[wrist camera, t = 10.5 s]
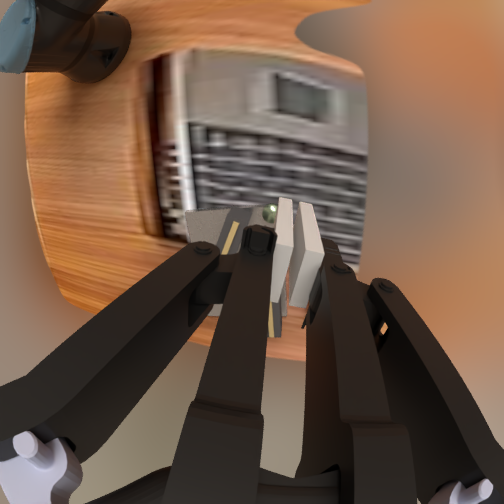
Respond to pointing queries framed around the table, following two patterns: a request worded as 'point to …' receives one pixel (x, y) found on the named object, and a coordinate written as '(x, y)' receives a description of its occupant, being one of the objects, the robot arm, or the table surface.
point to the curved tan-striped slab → (275, 319)
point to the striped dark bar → (233, 230)
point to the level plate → (210, 225)
